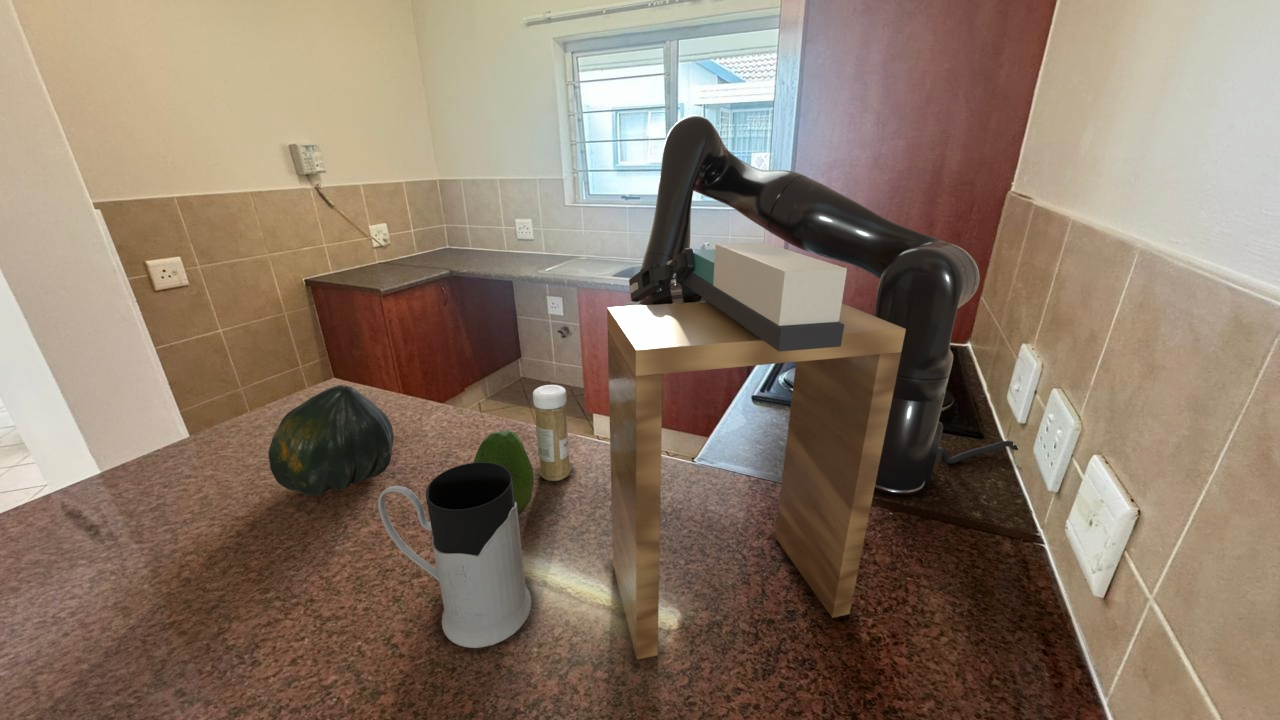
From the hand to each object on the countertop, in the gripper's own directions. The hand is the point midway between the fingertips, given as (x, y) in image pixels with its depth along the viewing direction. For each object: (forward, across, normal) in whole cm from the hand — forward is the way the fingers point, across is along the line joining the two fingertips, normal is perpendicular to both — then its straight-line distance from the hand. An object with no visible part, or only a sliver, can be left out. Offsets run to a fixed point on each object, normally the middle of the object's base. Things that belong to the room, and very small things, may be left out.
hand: (716, 257), depth 48 cm
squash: (-38, -46, +18) cm, 62 cm away
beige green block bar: (+4, 0, +6) cm, 7 cm away
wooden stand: (-10, 0, +33) cm, 35 cm away
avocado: (-26, -23, +24) cm, 43 cm away
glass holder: (-14, -27, +31) cm, 44 cm away
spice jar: (-33, -16, +21) cm, 42 cm away
